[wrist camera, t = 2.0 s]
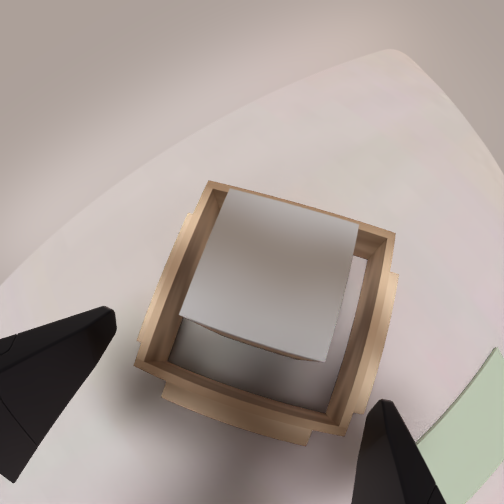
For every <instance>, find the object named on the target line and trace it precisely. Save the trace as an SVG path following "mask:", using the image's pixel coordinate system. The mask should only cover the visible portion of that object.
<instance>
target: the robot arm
mask: <svg viewBox="0 0 504 504" xmlns="http://www.w3.org/2000/svg"><path fill="white" fill-rule="evenodd" d="M116 330H117V326H116V318H115V312H114V310H112V309H110V308H108V307H106V306H101V307H98V308H95V309H92V310H89V311H86V312H83V313H80V314H77V315H74V316H71V317H68V318H64V319H61V320H58V321H55V322H52V323H49V324H46V325H43V326H40V327H37V328H34V329H31V330H27V331H24V332H21V333H18V334H15V335H12V336H9V337H5V338H2V339H0V474H1V475H3V476H4V477H5V478H7V479H8V480H9V481H11V482H12V483H15V482H16V480H17V479H18V477H19V475H20V474H21V472H22V471H23V469H24V468H25V466H26V464H27V463H28V461H29V460H30V458H31V457H32V455H33V454H34V452H35V451H36V449H37V448H38V446H39V445H40V443H41V442H42V440H43V439H44V437H45V436H46V434H47V433H48V431H49V430H50V428H51V427H52V426H53V424H54V423H55V421H56V420H57V418H58V417H59V416H60V414H61V413H62V411H63V410H64V409H65V407H66V406H67V404H68V403H69V402H70V400H71V399H72V397H73V396H74V395H75V393H76V392H77V391H78V389H79V388H80V387H81V385H82V384H83V382H84V381H85V380H86V378H87V377H88V376H89V374H90V373H91V372H92V370H93V369H94V368H95V366H96V365H97V363H98V362H99V360H100V358H101V356H102V355H103V353H104V351H105V350H106V348H107V346H108V345H109V343H110V342H111V340H112V338H113V337H114V335H115V333H116ZM351 504H447V503H446V501H445V499H444V498H443V496H442V494H441V492H440V490H439V488H438V486H437V485H436V482H435V480H434V478H433V476H432V474H431V472H430V470H429V468H428V466H427V464H426V462H425V460H424V458H423V456H422V455H421V453H420V451H419V449H418V447H417V445H416V443H415V441H414V439H413V438H412V436H411V434H410V432H409V430H408V428H407V427H406V425H405V423H404V421H403V419H402V417H401V416H400V414H399V412H398V410H397V408H396V407H395V405H394V403H393V402H392V401H390V400H385V399H381V400H379V401H378V402H377V403H376V404H375V406H374V407H373V408H372V409H371V411H370V412H369V413H368V415H367V418H366V422H365V427H364V432H363V437H362V442H361V446H360V451H359V455H358V461H357V468H356V476H355V483H354V490H353V496H352V502H351Z"/></svg>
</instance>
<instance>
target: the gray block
mask: <svg viewBox="0 0 504 504" xmlns="http://www.w3.org/2000/svg"><path fill="white" fill-rule="evenodd" d="M358 228H359V224H356V223H353V222H349V221H346V220H343V219H340V218H336V217H333V216H330V215H326V214H323V213H319V212H316V211H313V210H309V209H306V208H302V207H299V206H295V205H291V204H288V203H284V202H280V201H277V200H273V199H269V198H266V197H262V196H258V195H254V194H250V193H246V192H242V191H238V190H234V189H229V191H228V193H227V196H226V198H225V200H224V203H223V205H222V208H221V210H220V212H219V215H218V217H217V219H216V222H215V224H214V227H213V229H212V232H211V234H210V236H209V239H208V241H207V244H206V246H205V249H204V251H203V254H202V256H201V259H200V261H199V264H198V266H197V269H196V271H195V274H194V276H193V279H192V282H191V284H190V287H189V289H188V292H187V295H186V297H185V300H184V303H183V305H182V308H181V311H180V313H179V315H180V316H182V317H184V318H186V319H188V320H191V321H193V322H195V323H197V324H199V325H201V326H203V327H205V328H207V329H209V330H211V331H213V332H215V333H218V334H220V335H222V336H224V337H227V338H230V339H233V340H236V341H239V342H242V343H245V344H248V345H251V346H254V347H257V348H260V349H264V350H267V351H270V352H273V353H276V354H280V355H283V356H286V357H290V358H293V359H297V360H307V361H317V362H325V360H326V357H327V354H328V350H329V347H330V343H331V340H332V337H333V333H334V330H335V326H336V322H337V319H338V315H339V311H340V308H341V304H342V300H343V296H344V292H345V288H346V284H347V279H348V275H349V271H350V266H351V262H352V257H353V253H354V248H355V243H356V238H357V233H358Z"/></svg>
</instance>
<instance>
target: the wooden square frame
mask: <svg viewBox="0 0 504 504" xmlns="http://www.w3.org/2000/svg"><path fill="white" fill-rule="evenodd" d="M229 189H234V190H238V191H242V192H246V193H250V194H254V195H258V196H262V197H266V198H269V199H273V200H277V201H280V202H284V203H288V204H291V205H295V206H299V207H302V208H306V209H309V210H313V211H316V212H319V213H323V214H326V215H330V216H333V217H336V218H340V219H343V220H346V221H349V222H353V223H356V224H359V228H358V233H357V238H356V243H355V248H354V253H353V255H355V256H358V257H361V258H364V259H368V261H367V266H366V271H365V276H364V280H363V285H362V289H361V294H360V298H359V302H358V306H357V310H356V314H355V318H354V322H353V326H352V330H351V334H350V337H349V341H348V344H347V348H346V351H345V355H344V358H343V362H342V365H341V368H340V371H339V375H338V378H337V381H336V384H335V387H334V390H333V393H332V396H331V399H330V402H329V405H328V407H327V410H326V413H321V412H317V411H313V410H309V409H305V408H301V407H297V406H294V405H290V404H286V403H283V402H279V401H276V400H272V399H269V398H266V397H262V396H259V395H256V394H253V393H250V392H247V391H244V390H241V389H238V388H235V387H232V386H229V385H226V384H223V383H220V382H218V381H215V380H212V379H210V378H207V377H204V376H202V375H199V374H197V373H194V372H191V371H189V370H187V369H184V368H182V367H179V366H177V365H174V364H172V363H170V362H167V360H168V357H169V355H170V352H171V349H172V346H173V343H174V340H175V338H176V335H177V332H178V329H179V327H180V324H181V321H182V319H183V317H182V316H180V315H179V313H180V311H181V308H182V305H183V303H184V300H185V297H186V295H187V292H188V289H189V287H190V284H191V282H192V279H193V276H194V274H195V271H196V269H197V266H198V264H199V261H200V259H201V256H202V254H203V251H204V249H205V246H206V244H207V241H208V239H209V236H210V234H211V232H212V229H213V227H214V224H215V222H216V219H217V217H218V215H219V212H220V210H221V208H222V205H223V203H224V200H225V198H226V196H227V193H228V191H229ZM395 234H396V233H393V232H391V231H387V230H384V229H381V228H378V227H375V226H372V225H369V224H366V223H363V222H360V221H356V220H353V219H350V218H347V217H343V216H340V215H337V214H334V213H330V212H327V211H323V210H320V209H317V208H313V207H310V206H306V205H303V204H299V203H295V202H292V201H288V200H284V199H281V198H277V197H273V196H270V195H266V194H262V193H258V192H254V191H250V190H246V189H242V188H238V187H234V186H230V185H226V184H222V183H218V182H213V181H209V180H208V183H207V185H206V187H205V189H204V191H203V193H202V195H201V198H200V200H199V202H198V204H197V206H196V208H195V211H194V213H193V214H191V213H188V214H187V217H186V219H185V221H184V223H183V226H182V228H181V230H180V232H179V235H178V237H177V239H176V242H175V244H174V246H173V249H172V251H171V253H170V256H169V258H168V260H167V263H166V265H165V268H164V270H163V273H162V275H161V277H160V280H159V282H158V285H157V287H156V290H155V293H154V295H153V298H152V300H151V303H150V305H149V308H148V311H147V313H146V316H145V319H144V321H143V324H142V327H141V330H140V332H139V335H138V338H137V341H139V342H141V345H140V348H139V351H138V354H137V357H136V360H135V363H134V366H135V367H137V368H139V369H141V370H143V371H145V372H147V373H150V374H152V375H154V376H156V377H158V378H160V379H163V380H165V381H166V384H165V387H164V390H163V393H162V396H161V398H164V399H166V400H168V401H170V402H173V403H175V404H177V405H180V406H182V407H184V408H187V409H189V410H192V411H194V412H197V413H199V414H202V415H204V416H207V417H210V418H212V419H215V420H218V421H220V422H223V423H226V424H229V425H232V426H235V427H238V428H241V429H244V430H247V431H250V432H254V433H257V434H260V435H264V436H267V437H271V438H274V439H278V440H282V441H286V442H290V443H294V444H298V445H302V446H306V445H307V443H308V440H309V438H310V435H311V432H312V430H315V431H319V432H324V433H329V434H333V435H339V436H345V434H346V431H347V428H348V426H349V423H350V420H351V418H352V415H353V413H358V414H364V411H365V408H366V405H367V402H368V399H369V396H370V393H371V390H372V387H373V384H374V380H375V377H376V374H377V370H378V367H379V363H380V359H381V356H382V352H383V348H384V344H385V340H386V336H387V332H388V327H389V323H390V319H391V314H392V309H393V304H394V299H395V294H396V288H397V283H398V277H399V274H396V273H393V272H390V268H391V262H392V255H393V249H394V242H395Z"/></svg>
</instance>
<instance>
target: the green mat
mask: <svg viewBox="0 0 504 504" xmlns="http://www.w3.org/2000/svg"><path fill="white" fill-rule="evenodd" d="M416 445H417V447H418V449H419V451H420V453H421V455H422V456H423V458H424V460H425V462H426V464H427V466H428V468H429V470H430V472H431V474H432V476H433V478H434V480H435V482H436V485H437V486H438V488H439V490H440V492H441V494H442V496H443V498H444V499H445V501H446V503H447V504H465V503H466V502H467V501H468V500H469V499H470V498H471V497H472V496H473V495H474V494H475V493H476V492H477V491H478V490H479V489H480V488H481V486H482V485H483V484H484V483H485V482H486V481H487V480H488V479H489V477H490V476H491V475H492V474H493V473H494V471H495V470H496V469H497V468H498V467H499V465H500V464H501V463H502V462H503V460H504V358H503V356H502V354H501V353H500V351H499V349H498V347H497V348H494V350H493V351H492V353H491V354H490V356H489V357H488V358H487V360H486V361H485V363H484V364H483V366H482V367H481V368H480V370H479V371H478V373H477V374H476V375H475V377H474V378H473V379H472V381H471V382H470V383H469V384H468V386H467V387H466V388H465V389H464V391H463V392H462V393H461V394H460V396H459V397H458V398H457V399H456V400H455V402H454V403H453V404H452V405H451V406H450V407H449V409H448V410H447V411H446V412H445V413H444V414H443V415H442V416H441V418H440V419H439V420H438V421H437V422H436V423H435V424H434V425H433V426H432V427H431V428H430V429H429V430H428V431H427V432H426V433H425V434H424V435H423V436H422V437H421V438H420V439H419V440H418V441H417V442H416Z"/></svg>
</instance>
